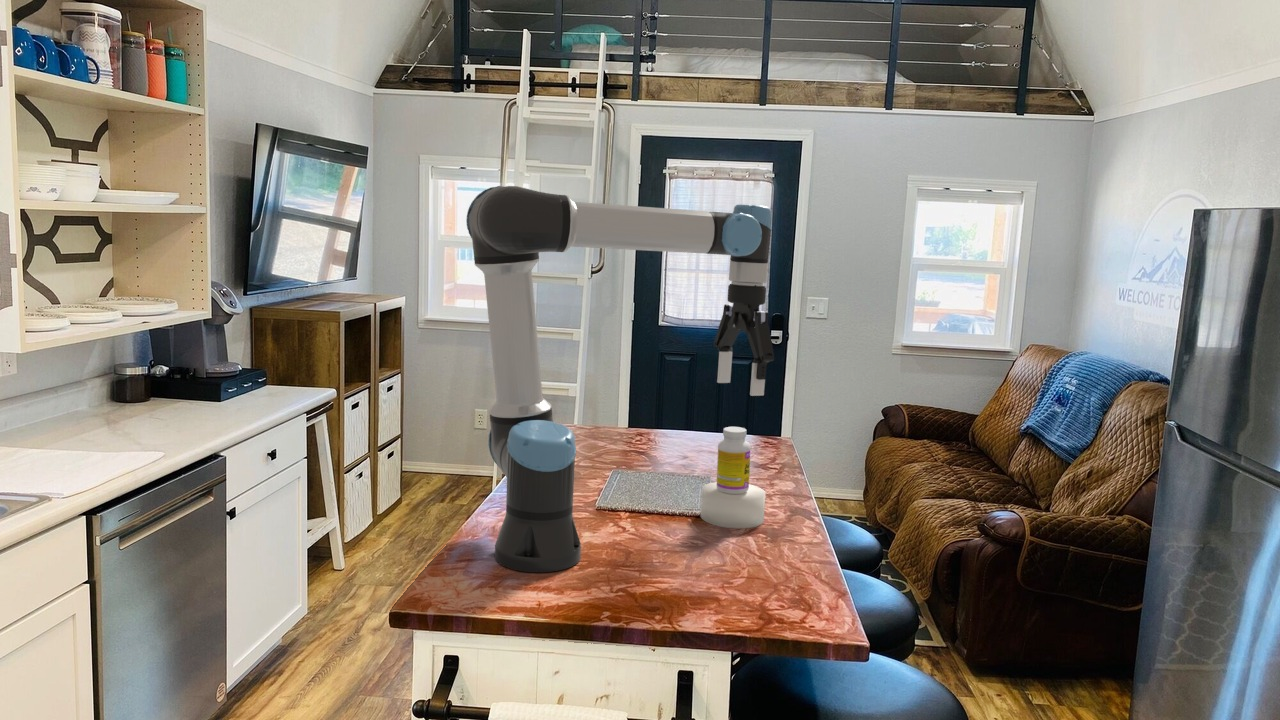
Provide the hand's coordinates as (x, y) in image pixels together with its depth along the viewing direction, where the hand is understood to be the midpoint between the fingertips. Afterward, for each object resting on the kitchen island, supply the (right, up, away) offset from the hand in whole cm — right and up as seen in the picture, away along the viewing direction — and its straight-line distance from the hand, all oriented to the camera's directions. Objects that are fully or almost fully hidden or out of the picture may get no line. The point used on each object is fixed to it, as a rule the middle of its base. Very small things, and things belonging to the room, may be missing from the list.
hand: (739, 388), depth 185 cm
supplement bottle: (-1, -21, +3) cm, 21 cm away
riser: (-1, -27, +4) cm, 27 cm away
